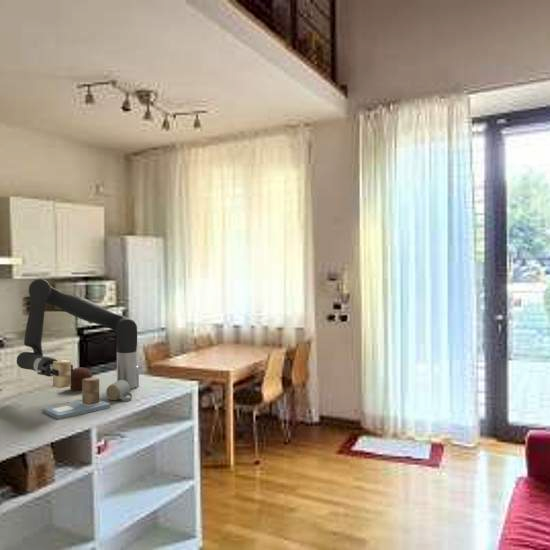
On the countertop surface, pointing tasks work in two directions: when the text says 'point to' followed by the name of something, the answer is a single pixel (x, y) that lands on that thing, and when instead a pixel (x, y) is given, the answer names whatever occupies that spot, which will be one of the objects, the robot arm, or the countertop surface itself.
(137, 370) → the robot arm
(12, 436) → the countertop surface
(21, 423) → the countertop surface
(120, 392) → the ceramic mug
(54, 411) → the board
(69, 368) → the oak pillar
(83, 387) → the walnut pillar
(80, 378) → the muffin
